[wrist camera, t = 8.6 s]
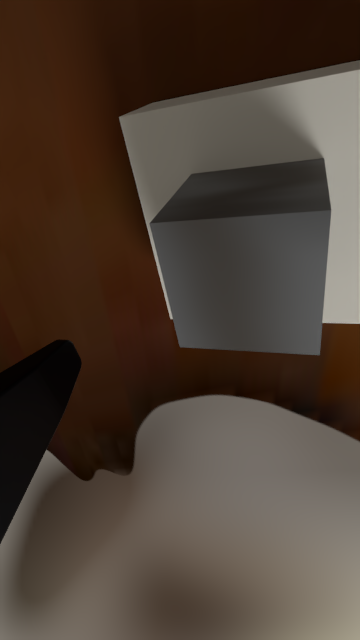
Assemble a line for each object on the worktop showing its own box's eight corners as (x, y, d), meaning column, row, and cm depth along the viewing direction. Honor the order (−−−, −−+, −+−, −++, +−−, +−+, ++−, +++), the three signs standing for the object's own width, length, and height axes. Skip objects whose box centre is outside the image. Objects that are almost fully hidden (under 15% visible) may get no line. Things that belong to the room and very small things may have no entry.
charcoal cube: (324, 158, 12) (331, 210, 9) (316, 277, 15) (319, 355, 11) (191, 173, 14) (149, 223, 10) (208, 278, 17) (180, 347, 13)
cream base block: (393, 53, 13) (419, 57, 10) (360, 278, 19) (370, 324, 16) (153, 102, 16) (118, 116, 13) (188, 281, 22) (170, 318, 19)
